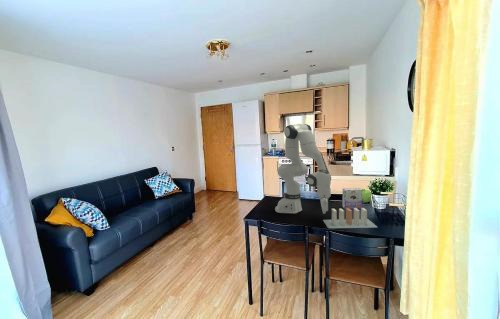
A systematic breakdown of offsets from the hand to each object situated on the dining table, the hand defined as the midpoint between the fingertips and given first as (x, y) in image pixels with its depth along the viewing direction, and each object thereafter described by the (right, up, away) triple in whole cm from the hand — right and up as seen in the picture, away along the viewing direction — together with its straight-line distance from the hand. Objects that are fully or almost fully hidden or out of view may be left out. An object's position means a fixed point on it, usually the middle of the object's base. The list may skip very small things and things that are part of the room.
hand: (324, 212), depth 154 cm
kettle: (+50, -1, +45) cm, 67 cm away
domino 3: (+17, -7, 0) cm, 19 cm away
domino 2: (+12, -8, 0) cm, 14 cm away
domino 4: (+22, -7, 0) cm, 23 cm away
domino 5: (+27, -7, -1) cm, 28 cm away
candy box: (+33, -3, +30) cm, 45 cm away
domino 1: (+7, -8, +1) cm, 11 cm away
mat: (+17, -8, 0) cm, 19 cm away
